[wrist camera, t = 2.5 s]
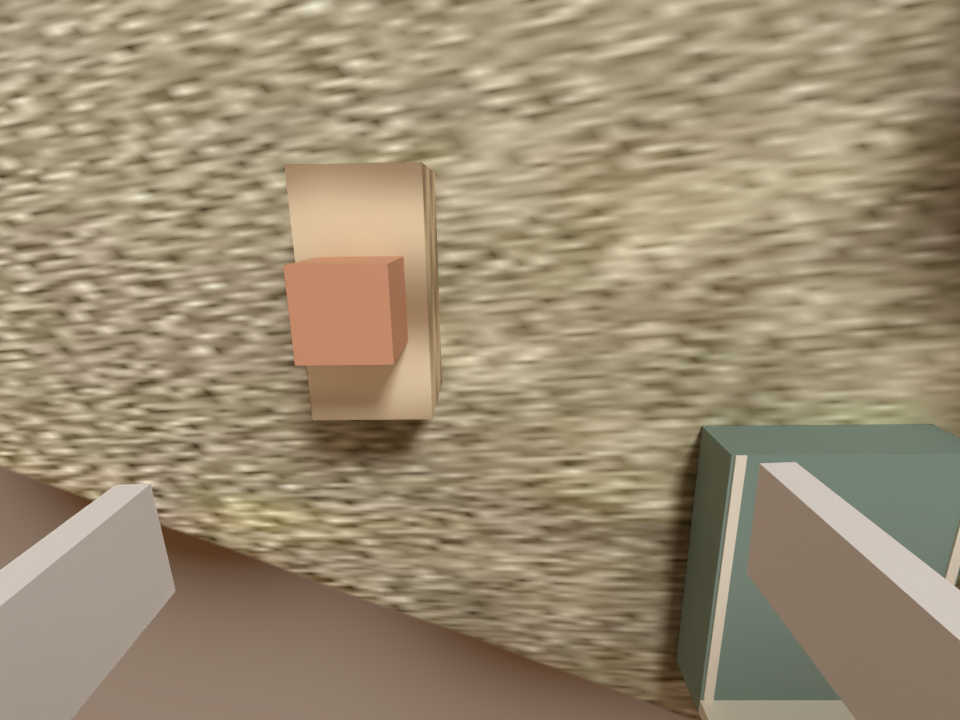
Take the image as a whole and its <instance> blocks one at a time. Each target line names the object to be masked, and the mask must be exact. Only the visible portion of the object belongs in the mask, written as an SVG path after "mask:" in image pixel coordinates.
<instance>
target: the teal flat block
mask: <svg viewBox="0 0 960 720" xmlns="http://www.w3.org/2000/svg"><path fill="white" fill-rule="evenodd" d="M783 462H796V463H797V464H799V465H800V466H801V467H803V468H804V469H805V470H806V471H808V472H809V473H810V474H812V475H813V476H814V477H815V478H817V479H818V480H819V481H820V482H822V483H823V484H824V485H826V486H827V487H828V488H829V489H831V490H832V491H833V492H835V493H836V494H837V495H838V496H840V497H841V498H842V499H844V500H845V501H846V502H847V503H849V504H850V505H851V506H853V507H854V508H855V509H856V510H858V511H859V512H860V513H861V514H863V515H864V516H865V517H867V518H868V519H869V520H870V521H872V522H873V523H874V524H876V525H877V526H878V527H879V528H881V529H882V530H883V531H885V532H886V533H887V534H888V535H890V536H891V537H892V538H894V539H895V540H896V541H897V542H899V543H900V544H901V545H902V546H904V547H905V548H906V549H908V550H909V551H910V552H911V553H913V554H914V555H915V556H917V557H918V558H919V559H920V560H922V561H923V562H924V563H926V564H927V565H928V566H929V567H931V568H932V569H933V570H935V571H936V572H937V573H938V574H940V575H941V576H942V577H943V578H945V579H946V580H947V581H949V582H950V583H951V584H952V585H954V586H955V587H956V584H957V580H958V577H959V573H960V437H957V436H955V435H953V434H951V433H949V432H947V431H945V430H943V429H941V428H938V427H936V426H934V425H932V424H906V425H784V426H702V432H701V441H700V450H699V459H698V468H697V477H696V486H695V495H694V504H693V513H692V522H691V531H690V541H689V550H688V559H687V568H686V577H685V586H684V595H683V604H682V613H681V622H680V631H679V640H678V649H677V658H676V661H677V664H678V666H679V668H680V671H681V673H682V675H683V678H684V680H685V682H686V685H687V687H688V689H689V692H690V694H691V697H692V699H693V701H694V704H695V706H696V708H697V711H698V713H699V715H700V718H701V720H856V719H855V718H854V716H853V715H852V714H851V712H850V711H849V710H848V708H847V707H846V706H845V704H844V703H843V702H842V700H841V699H840V698H839V696H838V695H837V694H836V692H835V691H834V690H833V688H832V687H831V686H830V684H829V683H828V682H827V680H826V679H825V677H824V676H823V675H822V673H821V672H820V671H819V669H818V668H817V667H816V665H815V664H814V663H813V661H812V660H811V659H810V657H809V656H808V655H807V653H806V652H805V651H804V649H803V648H802V647H801V645H800V644H799V643H798V641H797V640H796V639H795V637H794V636H793V635H792V633H791V632H790V631H789V629H788V628H787V627H786V625H785V624H784V623H783V621H782V620H781V619H780V617H779V616H778V614H777V613H776V612H775V610H774V609H773V608H772V606H771V605H770V604H769V602H768V601H767V600H766V598H765V597H764V596H763V594H762V593H761V592H760V590H759V589H758V588H757V586H756V585H755V584H754V582H753V581H752V580H751V578H750V577H749V576H748V574H747V566H748V557H749V549H750V540H751V532H752V524H753V515H754V507H755V498H756V490H757V481H758V473H759V464H760V463H783Z"/></svg>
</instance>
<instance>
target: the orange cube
mask: <svg viewBox="0 0 960 720" xmlns="http://www.w3.org/2000/svg"><path fill="white" fill-rule="evenodd" d="M283 266H284V274H285V283H286V292H287V300H288V309H289V318H290V326H291V335H292V344H293V352H294V361H295V366H304V365H394V363H395V362H396V360H397V358H398V357H399V355H400V354H401V352H402V350H403V349H404V347H405V345H406V344H407V342H408V330H407V311H406V292H405V273H404V256H360V257H315V258H311V259H307V260H303V261H299V262H295V263H291V264H287V265H283Z"/></svg>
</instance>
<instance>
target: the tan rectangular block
mask: <svg viewBox="0 0 960 720" xmlns="http://www.w3.org/2000/svg"><path fill="white" fill-rule="evenodd" d="M285 173H286V183H287V192H288V201H289V210H290V219H291V228H292V238H293V247H294V256H295V262H299V261H303V260H307V259H311V258H315V257H360V256H404V273H405V292H406V311H407V330H408V342H407V344H406V345H405V347H404V349H403V350H402V352H401V354H400V355H399V357H398V358H397V360H396V362H395V363H394V365H306V366H307V375H308V384H309V393H310V403H311V412H312V420H398V419H432V418H433V415H434V411H435V407H436V403H437V399H438V395H439V392H440V388H441V384H442V369H441V341H440V313H439V284H438V256H437V228H436V200H435V173H434V172H433V171H432V170H430V169H429V168H428V167H427V166H425V165H424V164H423V163H422V162H419V163H356V164H293V165H285Z"/></svg>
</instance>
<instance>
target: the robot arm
mask: <svg viewBox="0 0 960 720" xmlns="http://www.w3.org/2000/svg"><path fill="white" fill-rule="evenodd" d="M747 574H748V576H749V577H750V578H751V580H752V581H753V582H754V584H755V585H756V586H757V588H758V589H759V590H760V592H761V593H762V594H763V596H764V597H765V598H766V600H767V601H768V602H769V604H770V605H771V606H772V608H773V609H774V610H775V612H776V613H777V614H778V616H779V617H780V619H781V620H782V621H783V623H784V624H785V625H786V627H787V628H788V629H789V631H790V632H791V633H792V635H793V636H794V637H795V639H796V640H797V641H798V643H799V644H800V645H801V647H802V648H803V649H804V651H805V652H806V653H807V655H808V656H809V657H810V659H811V660H812V661H813V663H814V664H815V665H816V667H817V668H818V669H819V671H820V672H821V673H822V675H823V676H824V677H825V679H826V680H827V682H828V683H829V684H830V686H831V687H832V688H833V690H834V691H835V692H836V694H837V695H838V696H839V698H840V699H841V700H842V702H843V703H844V704H845V706H846V707H847V708H848V710H849V711H850V712H851V714H852V715H853V716H854V718H855V719H856V720H960V590H959V589H958V588H956V587H955V586H954V585H952V584H951V583H950V582H949V581H947V580H946V579H945V578H943V577H942V576H941V575H940V574H938V573H937V572H936V571H935V570H933V569H932V568H931V567H929V566H928V565H927V564H926V563H924V562H923V561H922V560H920V559H919V558H918V557H917V556H915V555H914V554H913V553H911V552H910V551H909V550H908V549H906V548H905V547H904V546H902V545H901V544H900V543H899V542H897V541H896V540H895V539H894V538H892V537H891V536H890V535H888V534H887V533H886V532H885V531H883V530H882V529H881V528H879V527H878V526H877V525H876V524H874V523H873V522H872V521H870V520H869V519H868V518H867V517H865V516H864V515H863V514H861V513H860V512H859V511H858V510H856V509H855V508H854V507H853V506H851V505H850V504H849V503H847V502H846V501H845V500H844V499H842V498H841V497H840V496H838V495H837V494H836V493H835V492H833V491H832V490H831V489H829V488H828V487H827V486H826V485H824V484H823V483H822V482H820V481H819V480H818V479H817V478H815V477H814V476H813V475H812V474H810V473H809V472H808V471H806V470H805V469H804V468H803V467H801V466H800V465H799V464H797V463H796V462H783V463H760V464H759V473H758V481H757V490H756V498H755V507H754V515H753V524H752V532H751V540H750V549H749V557H748V566H747ZM174 592H175V587H174V583H173V579H172V575H171V570H170V565H169V561H168V557H167V553H166V548H165V544H164V539H163V535H162V531H161V526H160V522H159V518H158V513H157V509H156V505H155V501H154V496H153V492H152V488H151V484H130V485H115V486H114V487H112V488H111V489H109V490H108V491H107V492H105V493H104V494H103V495H101V496H100V497H99V498H97V499H96V500H95V501H93V502H92V503H91V504H89V505H88V506H86V507H85V508H84V509H83V510H81V511H80V512H78V513H77V514H76V515H74V516H73V517H72V518H70V519H69V520H67V521H66V522H65V523H63V524H62V525H61V526H59V527H58V528H57V529H55V530H54V531H53V532H51V533H50V534H49V535H47V536H46V537H45V538H43V539H42V540H40V541H39V542H38V543H36V544H35V545H34V546H32V547H31V548H30V549H28V550H27V551H25V552H24V553H23V554H21V555H20V556H19V557H17V558H16V559H15V560H13V561H12V562H11V563H9V564H8V565H7V566H5V567H4V568H2V569H1V570H0V720H71V719H72V718H73V717H74V716H75V714H76V713H77V712H78V710H79V709H80V708H81V707H82V706H83V704H84V703H85V702H86V701H87V699H88V698H89V697H90V696H91V695H92V693H93V692H94V691H95V690H96V688H97V687H98V686H99V685H100V683H101V682H102V681H103V680H104V678H105V677H106V676H107V675H108V674H109V672H110V671H111V670H112V669H113V667H114V666H115V665H116V664H117V663H118V661H119V660H120V659H121V658H122V656H123V655H124V654H125V653H126V651H127V650H128V649H129V648H130V646H131V645H132V644H133V643H134V641H135V640H136V639H137V638H138V637H139V635H140V634H141V633H142V632H143V631H144V629H145V628H146V627H147V626H148V624H149V623H150V622H151V621H152V619H153V618H154V617H155V616H156V614H157V613H158V612H159V611H160V609H161V608H162V607H163V606H164V605H165V603H166V602H167V601H168V600H169V598H170V597H171V596H172V595H173V594H174Z"/></svg>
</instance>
